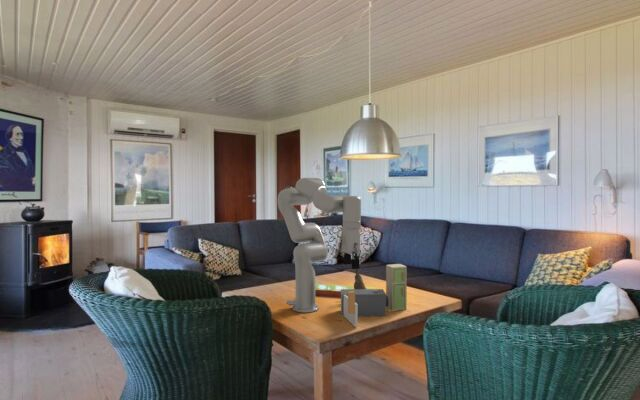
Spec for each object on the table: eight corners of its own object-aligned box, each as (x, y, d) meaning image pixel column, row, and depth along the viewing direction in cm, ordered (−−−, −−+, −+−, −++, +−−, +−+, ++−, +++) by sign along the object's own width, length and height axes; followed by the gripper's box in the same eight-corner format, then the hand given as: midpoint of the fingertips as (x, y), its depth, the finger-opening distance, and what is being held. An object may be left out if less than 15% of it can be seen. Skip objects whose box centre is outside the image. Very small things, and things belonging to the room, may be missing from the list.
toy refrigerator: (392, 311, 189) (392, 267, 188) (385, 307, 196) (385, 264, 195) (407, 310, 191) (407, 266, 190) (400, 305, 198) (400, 263, 198)
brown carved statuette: (352, 305, 208) (347, 270, 210) (360, 303, 211) (355, 268, 213) (366, 306, 198) (361, 269, 200) (375, 304, 201) (369, 268, 203)
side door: (338, 316, 181) (338, 284, 180) (345, 315, 182) (345, 283, 181) (349, 327, 166) (350, 292, 166) (357, 326, 167) (357, 292, 167)
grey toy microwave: (342, 316, 182) (342, 293, 182) (340, 310, 191) (341, 288, 191) (389, 316, 183) (389, 293, 182) (385, 309, 192) (385, 287, 191)
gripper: (336, 223, 174) (336, 262, 175) (350, 228, 157) (349, 271, 158) (352, 223, 176) (352, 261, 177) (368, 227, 159) (367, 270, 160)
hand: (351, 266), depth 167 cm, fingers open, 9 cm apart
